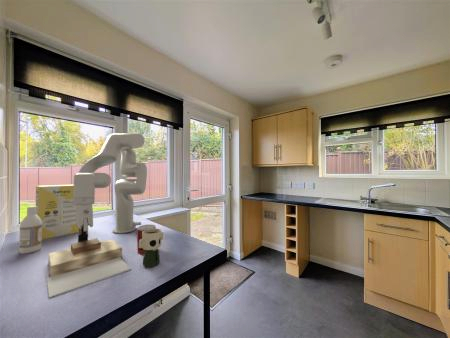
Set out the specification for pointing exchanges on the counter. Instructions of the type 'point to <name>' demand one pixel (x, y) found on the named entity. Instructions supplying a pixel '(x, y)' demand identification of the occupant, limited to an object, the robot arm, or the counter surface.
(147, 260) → the character mug
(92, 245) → the walnut tile
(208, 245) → the counter surface
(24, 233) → the bath foam
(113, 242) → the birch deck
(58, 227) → the pasta box
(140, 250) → the canned food
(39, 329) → the counter surface
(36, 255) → the counter surface
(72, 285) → the cream mat
